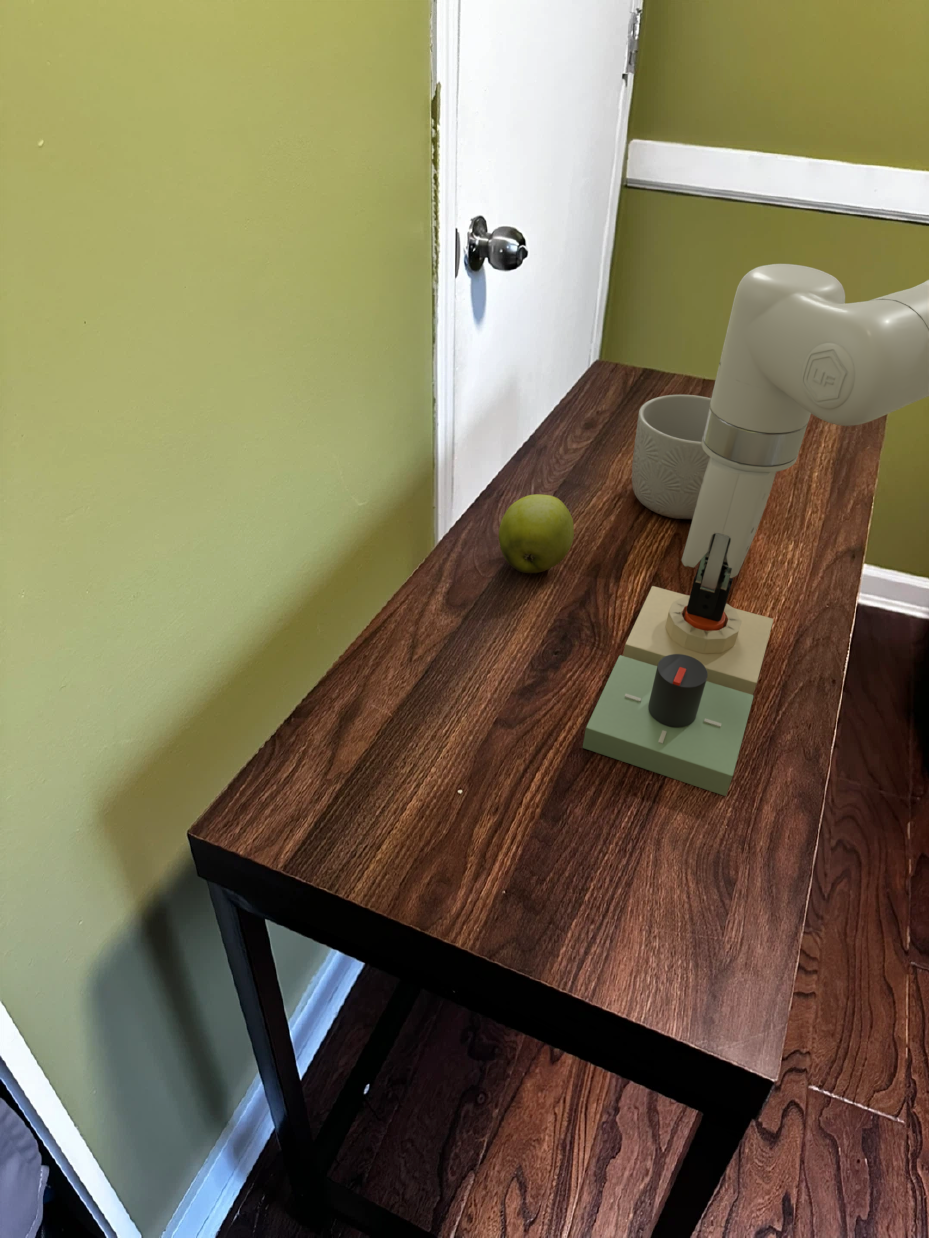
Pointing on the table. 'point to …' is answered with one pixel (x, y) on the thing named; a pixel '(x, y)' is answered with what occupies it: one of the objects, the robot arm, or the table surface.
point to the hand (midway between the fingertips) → (704, 612)
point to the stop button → (704, 622)
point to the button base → (701, 640)
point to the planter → (670, 454)
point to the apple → (536, 533)
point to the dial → (677, 690)
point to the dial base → (669, 729)
